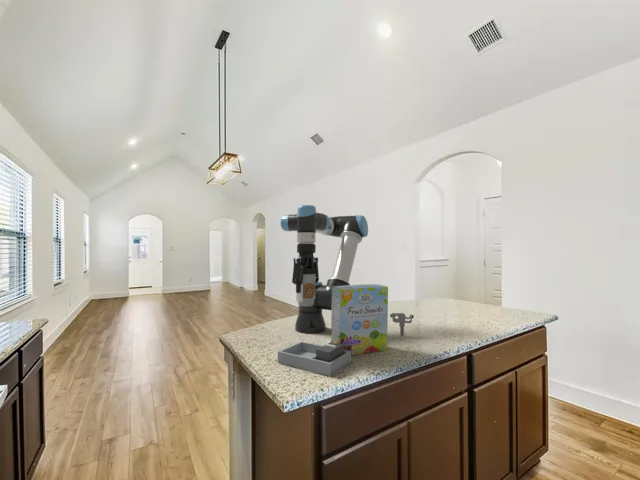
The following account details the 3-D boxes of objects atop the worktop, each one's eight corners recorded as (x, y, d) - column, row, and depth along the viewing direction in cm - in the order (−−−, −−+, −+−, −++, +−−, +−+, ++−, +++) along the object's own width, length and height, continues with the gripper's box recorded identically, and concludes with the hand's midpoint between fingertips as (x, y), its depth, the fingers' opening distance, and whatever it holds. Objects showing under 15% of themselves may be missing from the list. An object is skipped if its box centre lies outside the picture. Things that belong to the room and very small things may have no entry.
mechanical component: (413, 337, 145) (413, 315, 145) (390, 336, 147) (390, 314, 147) (413, 335, 148) (413, 313, 148) (390, 334, 150) (390, 312, 150)
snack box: (340, 358, 119) (339, 288, 119) (330, 351, 127) (329, 285, 127) (389, 350, 127) (388, 285, 128) (376, 344, 135) (376, 283, 136)
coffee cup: (300, 307, 125) (300, 268, 125) (292, 304, 132) (292, 267, 133) (319, 306, 129) (319, 268, 129) (310, 302, 136) (311, 267, 137)
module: (316, 367, 108) (316, 347, 108) (331, 358, 117) (331, 340, 117) (329, 370, 105) (329, 350, 106) (344, 361, 114) (344, 342, 114)
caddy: (277, 362, 115) (277, 351, 115) (301, 351, 127) (301, 341, 127) (330, 376, 103) (330, 363, 103) (351, 362, 115) (350, 351, 115)
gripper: (297, 242, 121) (297, 304, 120) (327, 243, 138) (327, 297, 137) (282, 242, 125) (282, 302, 124) (313, 243, 142) (313, 296, 141)
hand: (305, 299), depth 131 cm, fingers closed on coffee cup, 7 cm apart
